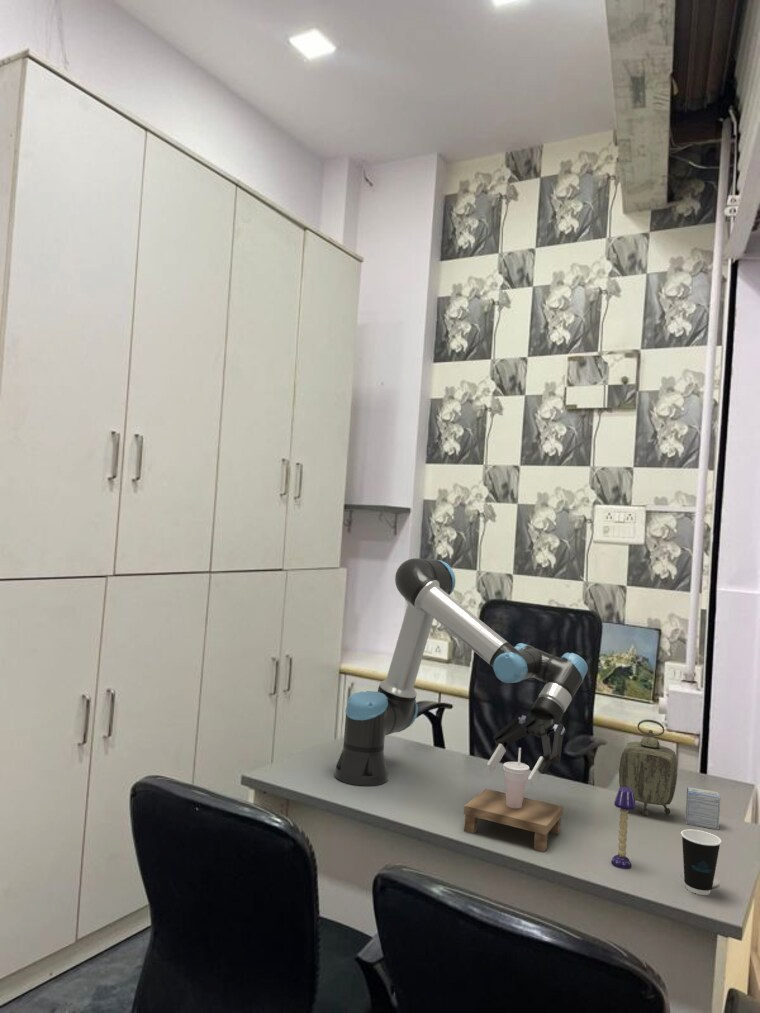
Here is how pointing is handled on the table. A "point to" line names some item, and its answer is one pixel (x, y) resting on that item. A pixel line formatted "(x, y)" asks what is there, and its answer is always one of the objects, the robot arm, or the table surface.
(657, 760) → the tabletop clock
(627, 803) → the toy lamp
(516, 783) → the smoothie
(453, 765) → the table surface
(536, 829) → the step stool
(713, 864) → the dixie cup
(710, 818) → the medicine box
